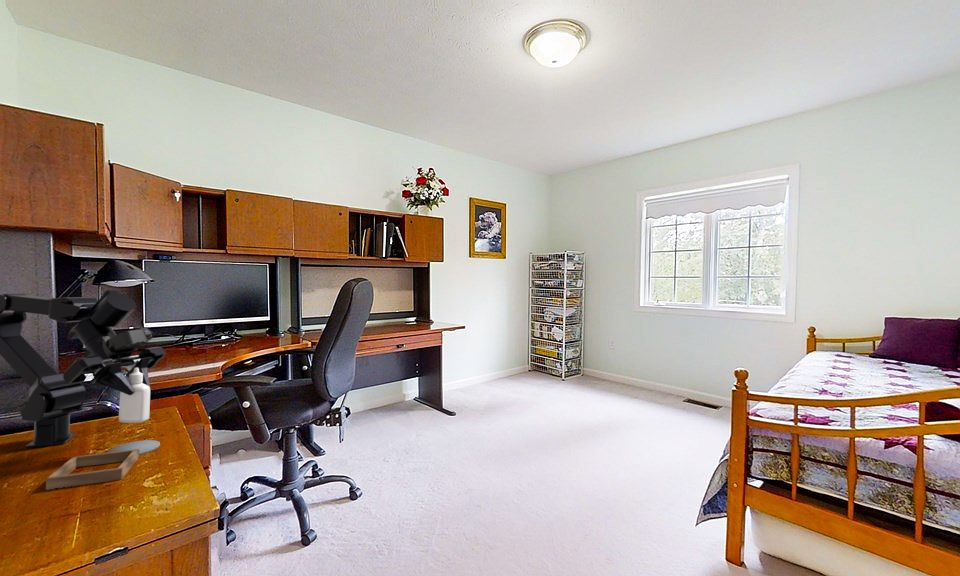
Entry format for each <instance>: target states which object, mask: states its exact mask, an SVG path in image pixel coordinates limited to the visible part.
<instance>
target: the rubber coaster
mask: <svg viewBox="0 0 960 576" xmlns="http://www.w3.org/2000/svg"><path fill="white" fill-rule="evenodd" d="M160 445H161V443H160V441H158V440H156V439H155V440H153V439H149V440H148V439H144V440H136V441H131V442H126V443H123V444H120V445H117V446H114V447H113V448H111V449H109V450H108V451H107V453H109V452H117V451H125V450H134V449H139V456H141V455H144V454H148V453H150V452H153V451H155V450H157V449H158V448H159V447H160Z"/></svg>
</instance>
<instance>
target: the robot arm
mask: <svg viewBox="0 0 960 576" xmlns="http://www.w3.org/2000/svg"><path fill="white" fill-rule="evenodd" d="M136 306H137V305H136V302H135V301H134V299H132V298H131V297H129V296H127V295H125V294H122V293H119V292H118V291H117V290H115V289H109V290H108V289H107V290H105V291H104V292H103V294H102V296H101V297H100V298H99V299H98V298H96V297H94V296H87V297H86V296H78V297H77V296H75V297H74V296H72V297H70V296H69V297H62V296H61V297H47V296H38V295H30V294H25V293H1V294H0V356H1V357H2V358H3V359H4V360H5V362H7V364H9V366H10V367H11V368H12V369H13V370H14V371H15V373H17V374H18V375H19V377H20V378H22V380H24V382H25V383H26V384H27V385H28V386H29V388H30V390H29V394H28V397H27V398H28V400H29V401H28V402H27V404H26V405H25V406H24V407H23V408H22V409H21V410H20V416H21V419H22V421H30V422H34V426H33V427H34V428H33V429H34V431H33V441H31V442H29V443H28V444H25V448H26V449H28V448H29V449H30V448H36V447H45V446H46V447H47V446H56V445H63V444H65V443H67V442H69V441H70V440H71V439H73V438H74V437H75V436H76V435H77V432H72V433H71V432H70V429H71V428H70V427H71V420H70V419H71V413H75V412H80V411H81V410H82V408H83V405H84V403H85V400H86V396H87V390H86V387H85V386H84V385H83V384H84V382H85V380H86V379H87V376H86V374H88V373H91V374H92V377H93V378H92V379H91V380H90V383H91V384H99V385H100V386H104V387H107V388H111V389H113V390H116V391H117V392H119V393H120V392H123V393H125V394H127V395H132V394H133V393H134V390H133V388H132V386H131V385H130V383H129V380H128V379H129V374H131V373H133V371H134V368H139V372H140V373H143V382H142V383H143V384H146V385H148V386H149V387H150V389H151V384H150V383H151V382H150V377H149V373H148V370H150V369H152V368H154V367H155V366H156V365H157V364H158V363H159V362H160V361H161V360H162V359H163V358H164V357H165V356H166V355H167V353H166V351H165V349H163V347H162V346H154V347H148V348H143V349H142V350H141V351H140V352H139V354H136V355H132V354H134V353H136V352H137V351H138V348H137V347H139V346H142V345H146V344H148V343H149V341H151V340H152V339H153V334H152V331H151V330H150V329H149V328H147V327H139V328H138V329H133V330H132V329H131V330H127V331H126V330H125V331H123V332H120V333H116V331H114V329H113V328H115V327H118V326H119V325H121V324H122V323H123V322H124V321H125V320H126V319H127V318H128V317H129V316H130V315H131V313H132V312H133V311H134V310H135V309H136ZM12 311H13V312H12ZM27 313H29V314H37V315H38V314H39V315H46V316H48V318H49V319H50V320H53V321H55V322H59V323H77V324H76V325H74V326H71V327H70V331H69V332H68V334H67V339H68V340H73V339H78V340H80V341H81V343H82V344H83V346H84V348H86V351H85V352H84V353H83V354H84V355H85V356H84V357H79V358H77V359H76V360H74V361H73V363H71V364H70V365H69V366H68V368H67V369H66V370H65V371H64V372H63V373H62V372H61V373H58V372H57V371H56V370H54V368H53V367H52V366H51V365H50V364H49V363H48V362H47V361H46V360H45V359H44V358H43V357H42V356H41V354H40V353H38V352H37V350H36V349H35V348H33V346H32V345H31V344H30V343H29V342H28V341H27V340H26V338H24V337H23V336H22V329H23V324H24V322H25V321H26V320H28V319H27ZM122 368H126V369H127V370H128V371H127V373H126V374H125V375H124V374H123V371H122ZM126 377H127V378H128V379H127V378H126Z"/></svg>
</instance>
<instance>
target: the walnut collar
mask: <svg viewBox="0 0 960 576" xmlns="http://www.w3.org/2000/svg"><path fill="white" fill-rule="evenodd" d="M139 458H140V455H139V449H134V450H125V451H117V452H109V453H108V452H101V453H94V454H92V453H91V454H86V455H77V456H76V455H75V456H72V457H71V458H70V459H69V460H68V461H66V462H65V463H64V464H63V465H61V466H60V467H59V468H58V469H56V470H55V471H54V472H53V473H51V475H49V476H48V477H47V478H45V490H46V491H49V490H50V489H51V490H56V489H55V488H58V489H63V487H65V488H69V487H70V488H71V486H72V487H78V485H79V486H83V485H92V484H98V483H99V484H100V483H106V482H111V481H118V480H122V479H123V478H124V477H126V475H127V473H128V472H129V471H130V470H131V468H133V467H134V465H135V463H136V462H137V461H138V460H139ZM120 462H122V463H121V464H119V466H118V467H116V468H107V469H101V470H93V471H84V472H76V473H72V472H73V471H74V470H75V469H77V468H82V467H89V466H90V467H91V466H98V465H106V464H113V463H114V464H115V463H120ZM51 490H50V491H51Z"/></svg>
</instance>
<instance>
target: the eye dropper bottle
mask: <svg viewBox="0 0 960 576" xmlns="http://www.w3.org/2000/svg"><path fill="white" fill-rule="evenodd" d="M128 382H129V383H130V385H131V386H132V388H133V390H134V393H133V394H132V395H127V394H125V393H123V392H120V391H119V404H118V405H119V406H118V421H119V422H120V423H127V424H132V423H133V424H136V423H137V424H138V423H139V424H140V423H143V422H145V421H148V420H150V411H151V410H150V407H151V406H150V404H151V388H150V387H151V386H150V387H149V386H148V385H146V384H143V383H142V382H143V373H140V372H139V368H134V371H133V373H131V374H129V378H128Z"/></svg>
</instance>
